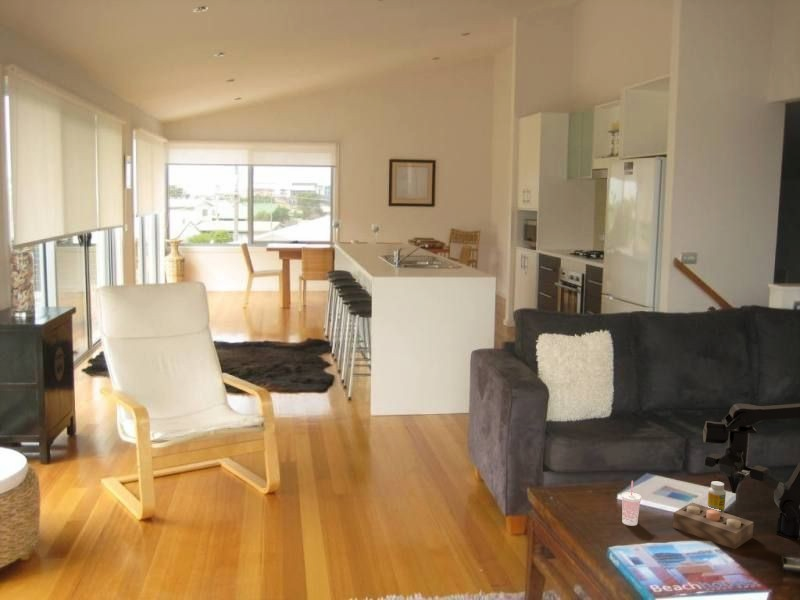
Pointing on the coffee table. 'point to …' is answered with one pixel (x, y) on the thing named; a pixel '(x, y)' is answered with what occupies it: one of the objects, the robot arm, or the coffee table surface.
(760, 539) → the coffee table surface
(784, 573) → the coffee table surface
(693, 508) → the maple plug far
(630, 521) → the beverage cup
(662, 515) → the coffee table surface
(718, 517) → the terracotta plug
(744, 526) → the wooden compartment tray
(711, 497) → the supplement bottle
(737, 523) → the maple plug near
